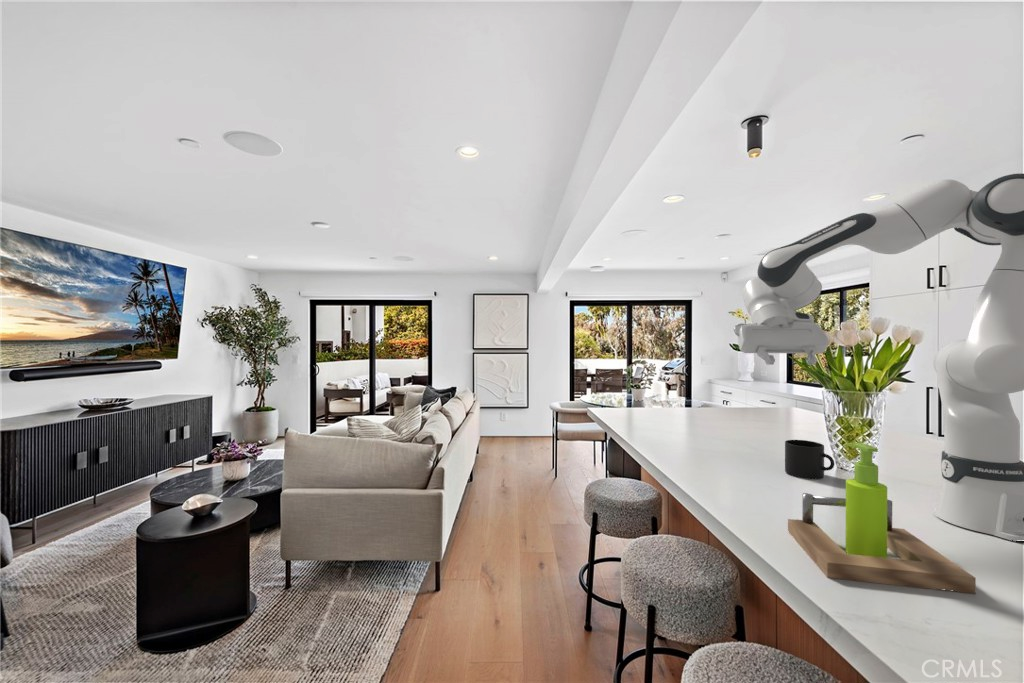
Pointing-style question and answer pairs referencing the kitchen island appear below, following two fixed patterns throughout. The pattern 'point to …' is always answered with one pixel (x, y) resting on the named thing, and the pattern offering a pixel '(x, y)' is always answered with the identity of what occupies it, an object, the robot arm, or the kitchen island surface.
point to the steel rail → (830, 501)
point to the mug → (805, 459)
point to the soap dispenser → (866, 507)
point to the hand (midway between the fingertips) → (791, 363)
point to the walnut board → (884, 561)
